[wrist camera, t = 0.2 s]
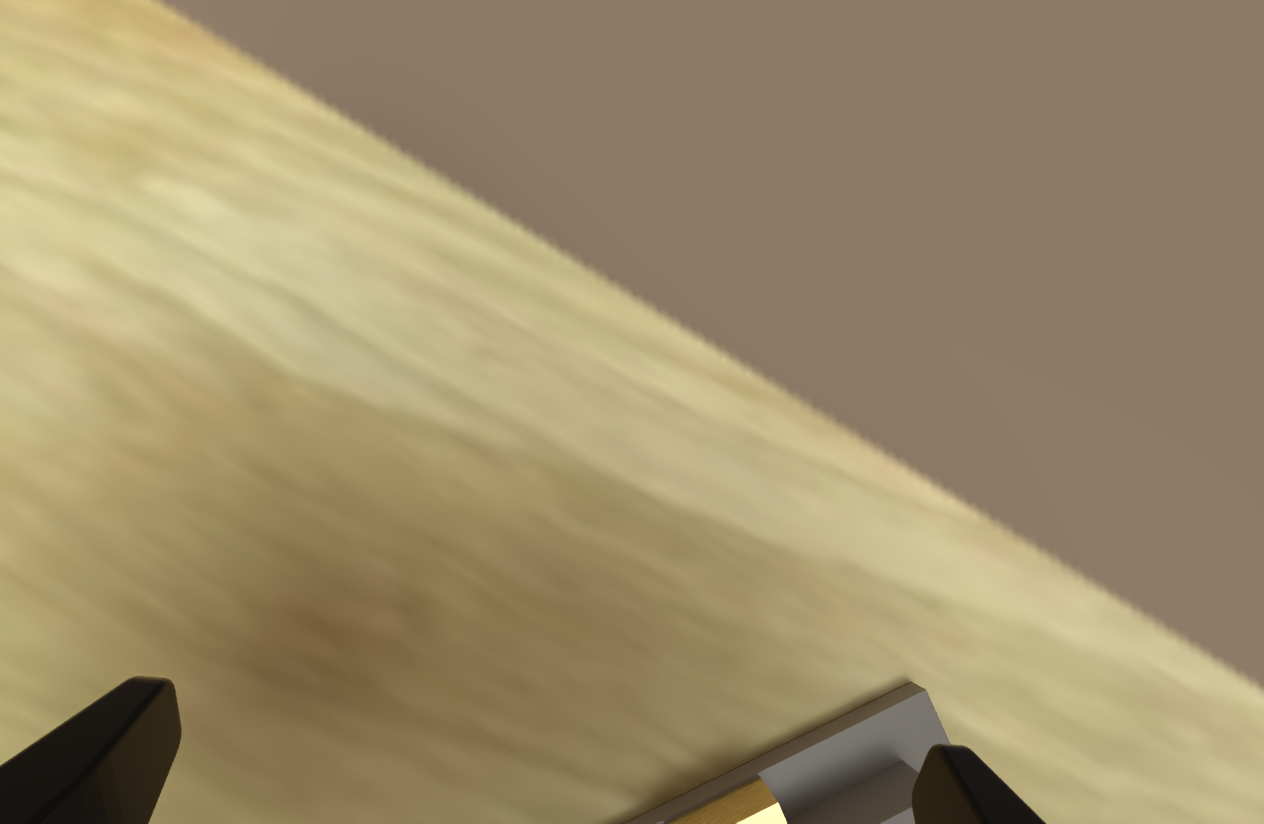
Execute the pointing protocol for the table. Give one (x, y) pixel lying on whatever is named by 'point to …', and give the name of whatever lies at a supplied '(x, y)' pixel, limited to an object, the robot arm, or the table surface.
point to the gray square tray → (825, 772)
